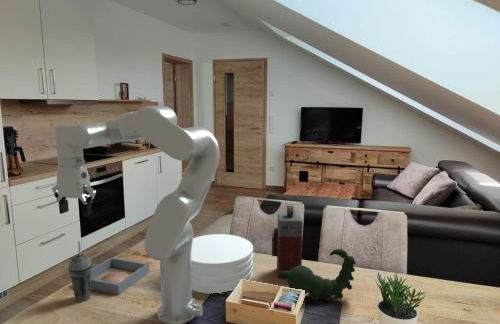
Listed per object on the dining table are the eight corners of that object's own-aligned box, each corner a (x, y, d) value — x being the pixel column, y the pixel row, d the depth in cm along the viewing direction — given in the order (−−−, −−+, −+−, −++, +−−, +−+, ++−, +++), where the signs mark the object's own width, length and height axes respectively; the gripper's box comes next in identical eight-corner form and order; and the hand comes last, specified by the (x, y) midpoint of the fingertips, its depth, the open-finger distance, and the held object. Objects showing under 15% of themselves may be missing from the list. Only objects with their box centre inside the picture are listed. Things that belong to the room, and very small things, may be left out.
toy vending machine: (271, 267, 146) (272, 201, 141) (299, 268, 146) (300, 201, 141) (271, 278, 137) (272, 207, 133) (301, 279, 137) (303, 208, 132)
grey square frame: (149, 272, 142) (149, 263, 142) (118, 294, 125) (118, 285, 125) (112, 265, 148) (111, 257, 147) (78, 286, 131) (77, 277, 131)
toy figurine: (345, 295, 129) (275, 287, 129) (353, 245, 125) (281, 237, 126) (351, 310, 119) (276, 302, 120) (360, 256, 116) (282, 248, 117)
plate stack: (255, 261, 153) (256, 235, 151) (249, 296, 125) (249, 265, 123) (191, 258, 155) (190, 232, 153) (170, 291, 128) (169, 261, 126)
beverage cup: (69, 305, 119) (64, 248, 115) (73, 294, 126) (68, 239, 122) (92, 302, 121) (88, 245, 117) (95, 291, 127) (92, 237, 124)
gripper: (101, 162, 116) (105, 213, 119) (60, 159, 122) (64, 208, 125) (83, 165, 109) (87, 220, 112) (40, 163, 115) (46, 214, 118)
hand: (75, 213), depth 118 cm, fingers open, 9 cm apart
